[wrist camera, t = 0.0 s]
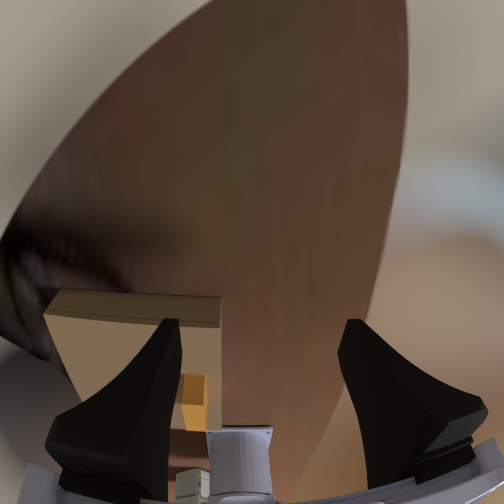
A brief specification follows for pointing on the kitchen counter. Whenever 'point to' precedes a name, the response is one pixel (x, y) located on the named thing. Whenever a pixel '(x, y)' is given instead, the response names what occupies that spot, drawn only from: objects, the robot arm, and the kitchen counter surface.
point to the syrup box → (192, 486)
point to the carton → (139, 306)
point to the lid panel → (127, 347)
